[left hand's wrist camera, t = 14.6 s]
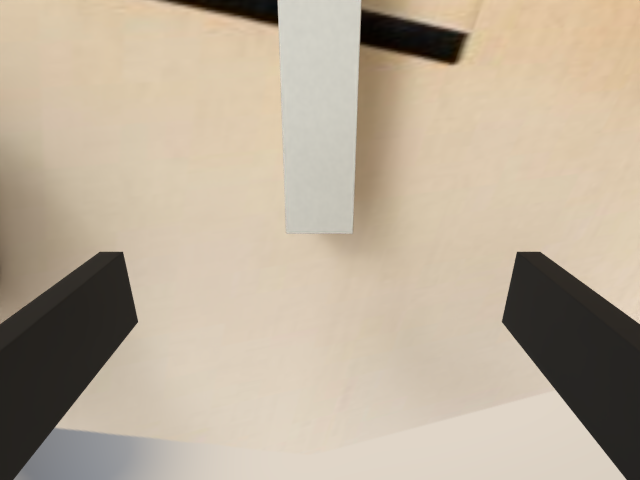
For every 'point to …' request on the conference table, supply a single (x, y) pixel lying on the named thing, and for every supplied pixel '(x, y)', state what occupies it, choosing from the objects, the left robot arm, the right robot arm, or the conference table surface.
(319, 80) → the bar
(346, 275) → the conference table surface
